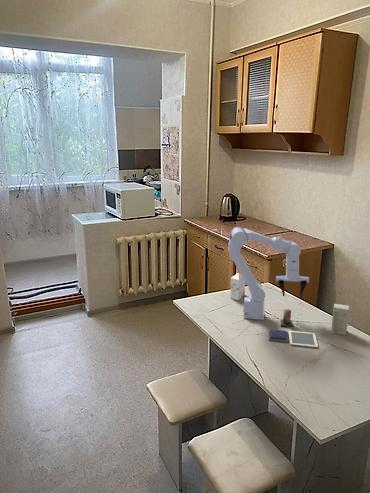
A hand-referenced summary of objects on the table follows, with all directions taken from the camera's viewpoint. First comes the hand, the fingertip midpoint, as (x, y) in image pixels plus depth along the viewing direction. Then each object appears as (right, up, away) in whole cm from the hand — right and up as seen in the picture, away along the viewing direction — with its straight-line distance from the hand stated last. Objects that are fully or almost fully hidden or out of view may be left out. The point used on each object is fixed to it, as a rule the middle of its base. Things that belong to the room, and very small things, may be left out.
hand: (292, 295), depth 174 cm
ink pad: (-10, -16, -15) cm, 24 cm away
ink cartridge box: (-22, -4, +24) cm, 33 cm away
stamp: (-4, -13, -5) cm, 14 cm away
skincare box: (+17, -15, -11) cm, 25 cm away
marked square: (-1, -16, -17) cm, 24 cm away
